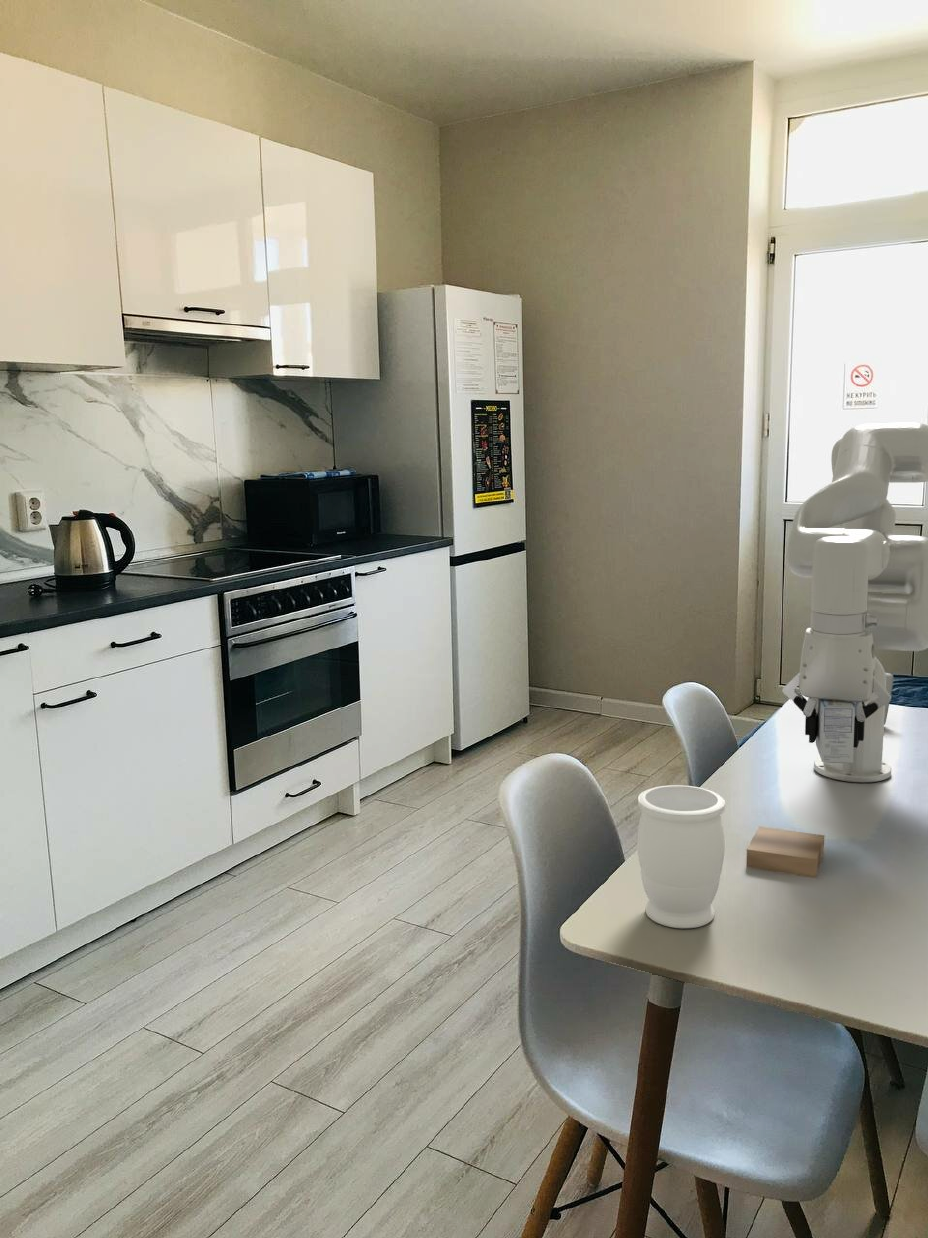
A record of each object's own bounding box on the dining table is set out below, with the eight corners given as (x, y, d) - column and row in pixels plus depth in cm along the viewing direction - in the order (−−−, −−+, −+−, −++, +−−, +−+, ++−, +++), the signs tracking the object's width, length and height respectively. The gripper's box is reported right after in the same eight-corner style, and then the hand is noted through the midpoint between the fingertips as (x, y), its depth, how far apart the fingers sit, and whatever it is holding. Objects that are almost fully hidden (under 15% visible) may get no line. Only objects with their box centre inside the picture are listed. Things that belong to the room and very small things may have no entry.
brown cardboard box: (758, 846, 146) (758, 826, 145) (823, 855, 142) (824, 835, 141) (746, 870, 138) (746, 849, 137) (815, 881, 134) (816, 859, 133)
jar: (706, 942, 117) (708, 819, 115) (623, 922, 123) (624, 804, 120) (734, 906, 126) (737, 792, 124) (655, 889, 132) (657, 778, 129)
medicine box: (853, 764, 145) (856, 707, 143) (820, 763, 146) (822, 706, 144) (845, 746, 152) (848, 691, 151) (814, 745, 153) (816, 690, 152)
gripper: (904, 620, 144) (898, 741, 148) (781, 614, 152) (778, 728, 156) (901, 631, 138) (894, 757, 142) (772, 624, 146) (769, 743, 149)
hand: (834, 741), depth 149 cm, fingers closed on medicine box, 5 cm apart
